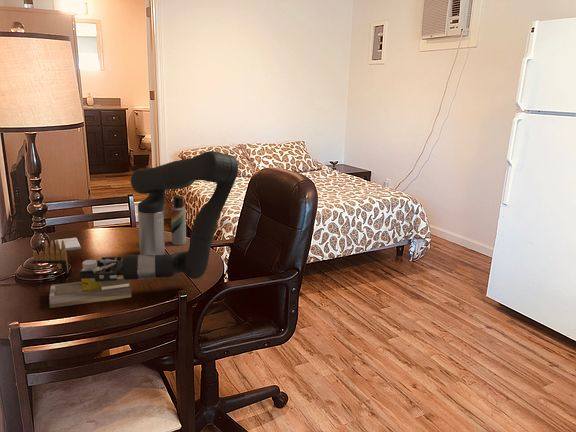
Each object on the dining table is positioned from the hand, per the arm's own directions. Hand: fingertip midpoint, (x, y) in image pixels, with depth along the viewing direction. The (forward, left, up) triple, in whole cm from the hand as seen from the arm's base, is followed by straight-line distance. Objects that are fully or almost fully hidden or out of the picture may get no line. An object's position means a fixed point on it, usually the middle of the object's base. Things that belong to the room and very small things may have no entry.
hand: (82, 269), depth 134 cm
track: (0, +2, -9) cm, 9 cm away
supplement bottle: (0, +2, -8) cm, 8 cm away
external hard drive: (-51, -6, -9) cm, 52 cm away
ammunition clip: (-22, -10, -9) cm, 25 cm away
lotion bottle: (-42, +36, -9) cm, 56 cm away
